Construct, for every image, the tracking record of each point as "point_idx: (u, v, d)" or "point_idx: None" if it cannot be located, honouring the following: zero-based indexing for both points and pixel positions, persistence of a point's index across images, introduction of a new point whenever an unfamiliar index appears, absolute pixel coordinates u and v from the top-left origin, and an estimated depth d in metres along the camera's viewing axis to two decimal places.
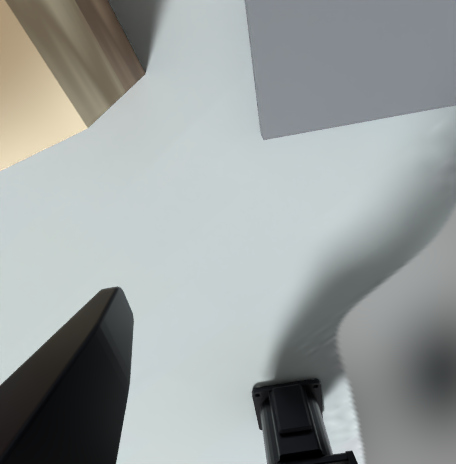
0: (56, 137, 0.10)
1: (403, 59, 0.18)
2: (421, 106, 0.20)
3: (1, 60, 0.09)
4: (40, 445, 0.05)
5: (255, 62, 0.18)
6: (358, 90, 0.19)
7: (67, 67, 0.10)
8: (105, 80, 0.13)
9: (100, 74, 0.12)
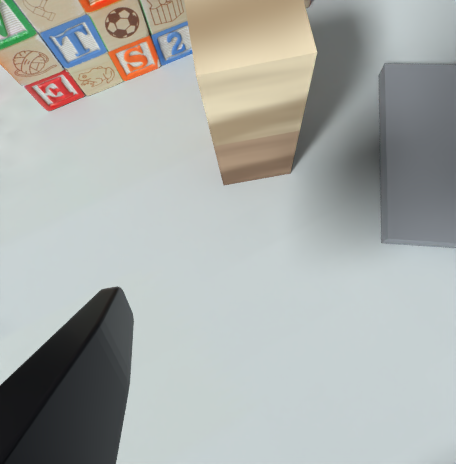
0: (291, 54, 0.13)
1: None
2: None
3: (279, 8, 0.14)
4: (40, 445, 0.05)
5: (387, 175, 0.22)
6: None
7: None
8: None
9: None
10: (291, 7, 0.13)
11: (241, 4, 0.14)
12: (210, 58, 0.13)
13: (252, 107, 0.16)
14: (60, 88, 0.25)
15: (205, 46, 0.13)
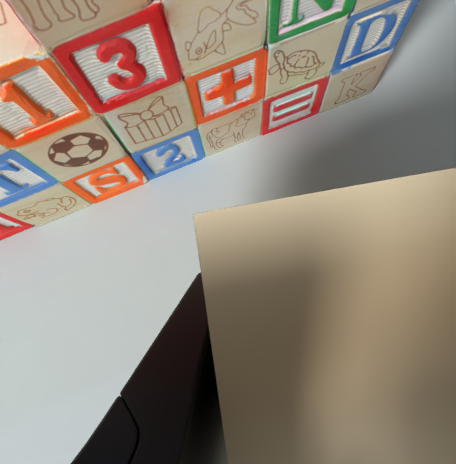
0: None
1: None
2: None
3: None
4: (199, 421, 0.05)
5: None
6: None
7: None
8: None
9: None
10: None
11: (359, 304, 0.05)
12: None
13: None
14: None
15: (264, 443, 0.05)
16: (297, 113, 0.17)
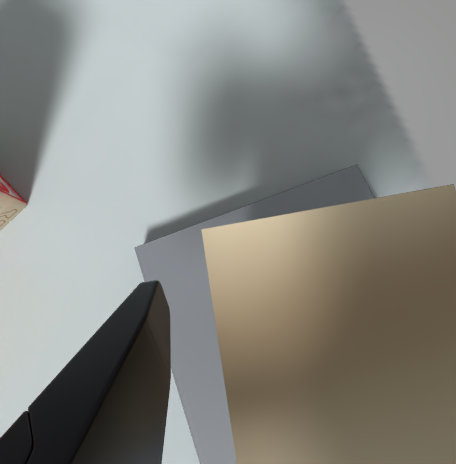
0: None
1: None
2: None
3: (437, 323, 0.06)
4: (104, 436, 0.05)
5: (184, 409, 0.16)
6: None
7: None
8: None
9: None
10: None
11: (343, 305, 0.06)
12: (277, 460, 0.05)
13: None
14: None
15: (263, 423, 0.06)
16: None
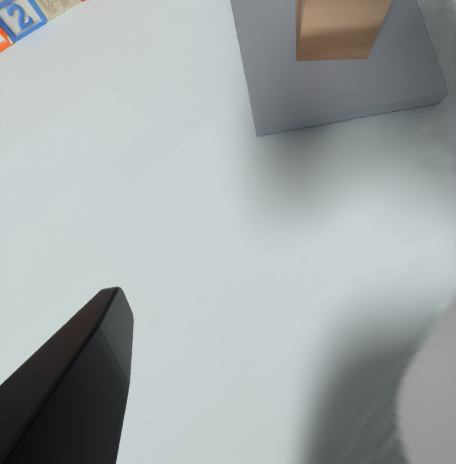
0: None
1: (366, 66, 0.23)
2: (396, 97, 0.22)
3: None
4: (40, 445, 0.05)
5: (247, 73, 0.23)
6: (334, 87, 0.23)
7: None
8: None
9: None
10: None
11: None
12: None
13: None
14: None
15: None
16: None
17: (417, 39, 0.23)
